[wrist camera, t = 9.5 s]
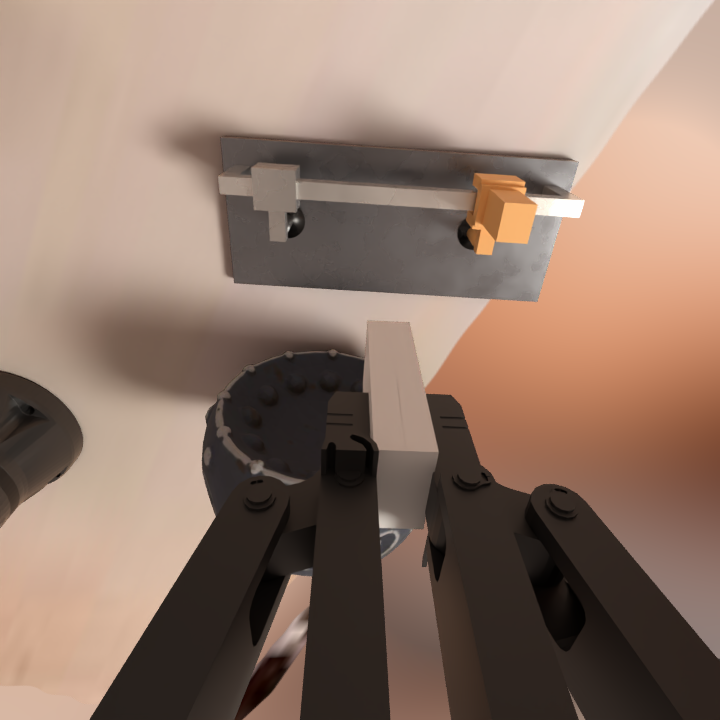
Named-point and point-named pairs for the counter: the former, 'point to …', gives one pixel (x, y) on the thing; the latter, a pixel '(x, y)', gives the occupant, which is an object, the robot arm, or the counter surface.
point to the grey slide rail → (359, 194)
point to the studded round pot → (278, 425)
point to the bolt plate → (388, 224)
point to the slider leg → (499, 212)
